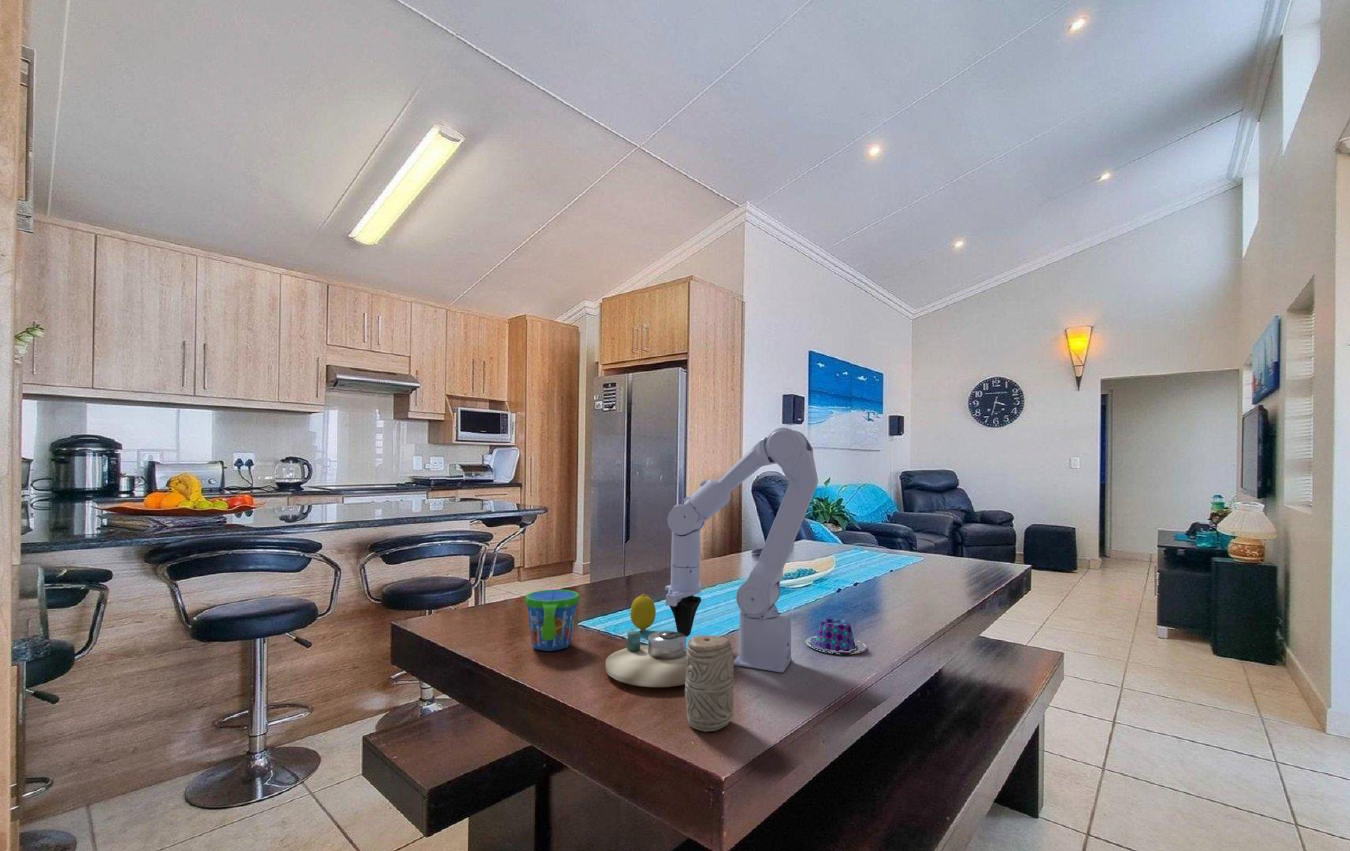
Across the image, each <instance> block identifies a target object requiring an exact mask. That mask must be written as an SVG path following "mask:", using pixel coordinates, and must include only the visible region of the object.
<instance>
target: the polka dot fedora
mask: <svg viewBox="0 0 1350 851" xmlns="http://www.w3.org/2000/svg"><path fill="white" fill-rule="evenodd" d="M811 638H817V639H816V645H818V646H820V647H821V648H823V649H829V650H835V651H839V650H843V651H849V650H851V649H855V648H856V649H857V647H856V645H855V641H854V639H855V638H854V634H853V630H852V626H851V624H850V622H848V621H847V620H843V619H839V618H824V619H823V620H822V621H821V622H820V623H819V629H818V631H817V635H813V636H809V637H808V638H806V640H805V644H806V645H807V646H809V647H810V648H812V649H814V650H816V651H819V652H824V653H826V652H825V651H824V650H823V651H821V650H818V649H815V648H813V647H811V645H810V644H809V643H808V642H811V641H810V640H811ZM856 640H857V641H858V642H861V641H859V640H858V639H856ZM863 645H864V646H865V649H864V650H863V651H861V652H858V653H857V654H860V653H864V652H865V651H867V649H868V648H867V645H866V644H865V643H863ZM827 652H828V653H829V654H832V653H831V652H830V651H827ZM850 653H851V652H850ZM854 654H856V653H851V654H850V655H854ZM836 655H841V654H840V653H836Z"/></svg>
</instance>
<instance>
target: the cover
mask: <svg viewBox="0 0 1350 851" xmlns="http://www.w3.org/2000/svg"><path fill="white" fill-rule="evenodd" d="M647 639H648V640H647V642H648V643H647V645H648V655H649V656H650V657H652V658H655V659H660V660H675V659H680V658H683V657H684V656H685V655H686V648H687V637H686V635H684V634H682V633H679V632H677V631H672V630H661V631H655V632H652V633H649V635H648V638H647Z"/></svg>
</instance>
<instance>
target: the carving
mask: <svg viewBox="0 0 1350 851" xmlns="http://www.w3.org/2000/svg"><path fill="white" fill-rule="evenodd" d="M686 648H687V650H688V651H687V657H686V659H687V665H686V678H685V679H686V682H685V684H684V697H685V708H686V718H687V721H688V724H689V726H690V727H691V728H692V729H694V730H698V731H700V732H703V733H709V732H715V731H719V730H721V729H723V728H724V727H726V726H727V725H728V724H729V723H730V722H731V720H732V719H733V718H732V717H733V711H734V672H735V669H734V666H735V665H734V656H733V654H734V653H733V648H732V644H731V642H730V639H729V638H727V637H724V636H718V635H708V634H707V635H705V634H699V635H694V636H692V637H691V638H689V639H688V642H687V645H686Z"/></svg>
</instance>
